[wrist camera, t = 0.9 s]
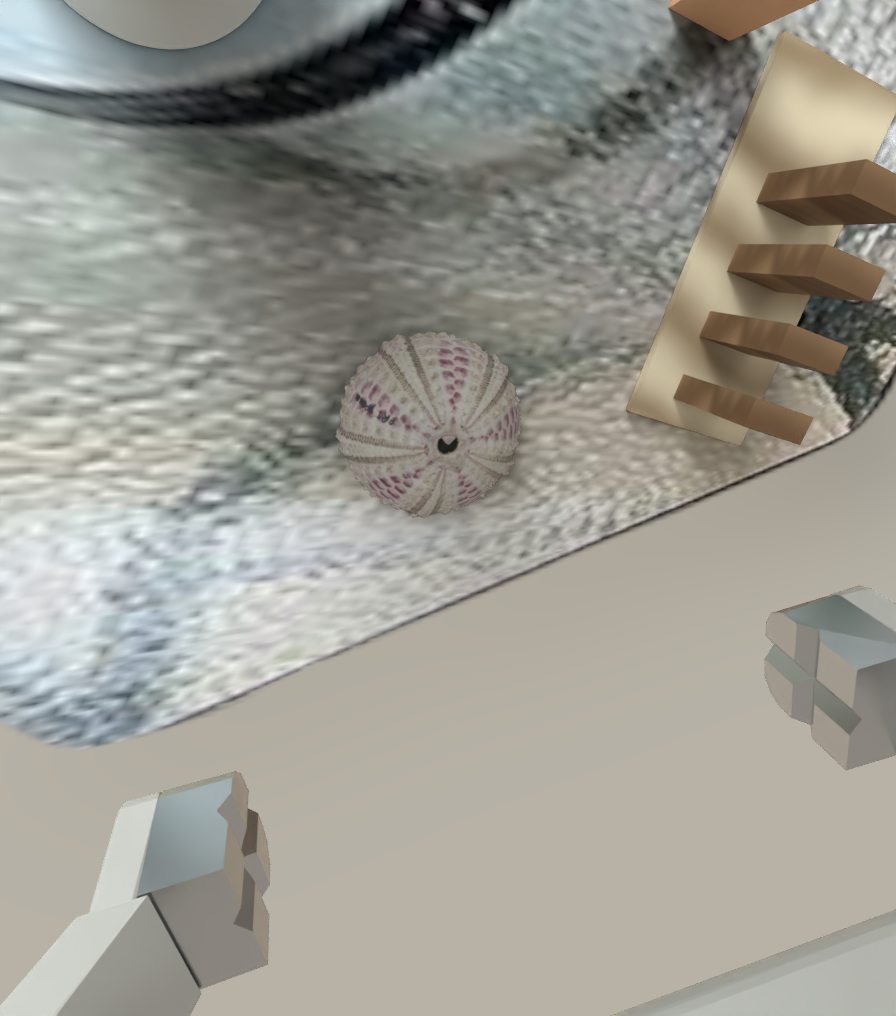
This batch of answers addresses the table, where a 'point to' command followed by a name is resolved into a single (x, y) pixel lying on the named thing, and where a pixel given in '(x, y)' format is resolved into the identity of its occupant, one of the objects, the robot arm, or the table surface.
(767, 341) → the domino
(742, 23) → the domino
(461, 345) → the sea urchin shell
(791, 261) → the domino
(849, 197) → the domino
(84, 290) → the table surface
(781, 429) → the domino
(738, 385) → the birch board
